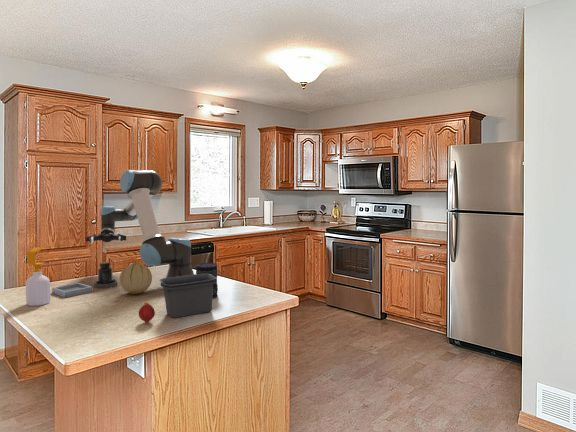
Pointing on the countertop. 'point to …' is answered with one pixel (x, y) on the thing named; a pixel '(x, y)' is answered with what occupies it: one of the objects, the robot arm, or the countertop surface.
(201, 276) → the storage bin
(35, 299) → the soap bottle
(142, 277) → the cantaloupe
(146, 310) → the pomegranate
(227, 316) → the countertop surface
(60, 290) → the tray
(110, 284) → the holster ring
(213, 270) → the storage jar
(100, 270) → the supplement bottle
